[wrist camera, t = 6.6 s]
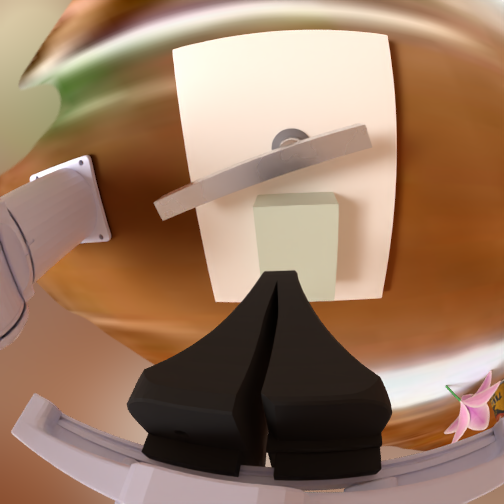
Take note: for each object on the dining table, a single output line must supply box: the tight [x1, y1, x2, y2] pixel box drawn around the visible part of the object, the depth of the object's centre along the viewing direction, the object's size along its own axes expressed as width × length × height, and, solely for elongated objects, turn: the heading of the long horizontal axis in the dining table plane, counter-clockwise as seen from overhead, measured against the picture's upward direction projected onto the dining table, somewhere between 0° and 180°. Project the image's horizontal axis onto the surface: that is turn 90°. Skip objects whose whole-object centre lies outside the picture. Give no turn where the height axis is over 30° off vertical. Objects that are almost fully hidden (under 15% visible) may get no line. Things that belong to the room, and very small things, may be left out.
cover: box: [253, 192, 339, 302], centre depth 18 cm, size 5×7×2 cm
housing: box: [173, 30, 397, 302], centre depth 18 cm, size 14×20×1 cm
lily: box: [444, 370, 501, 444], centre depth 25 cm, size 12×12×10 cm
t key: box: [154, 123, 372, 221], centre depth 15 cm, size 2×12×4 cm, turn 113°
